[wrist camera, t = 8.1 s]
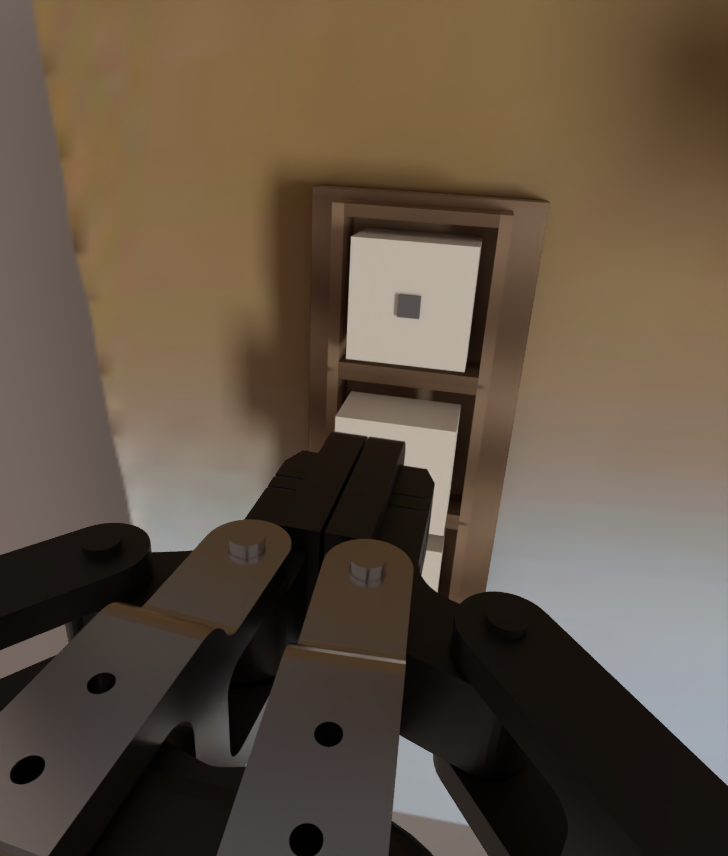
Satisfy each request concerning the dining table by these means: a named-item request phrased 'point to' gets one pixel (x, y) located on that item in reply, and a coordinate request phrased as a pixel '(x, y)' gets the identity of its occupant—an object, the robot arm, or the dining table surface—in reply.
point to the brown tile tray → (473, 389)
